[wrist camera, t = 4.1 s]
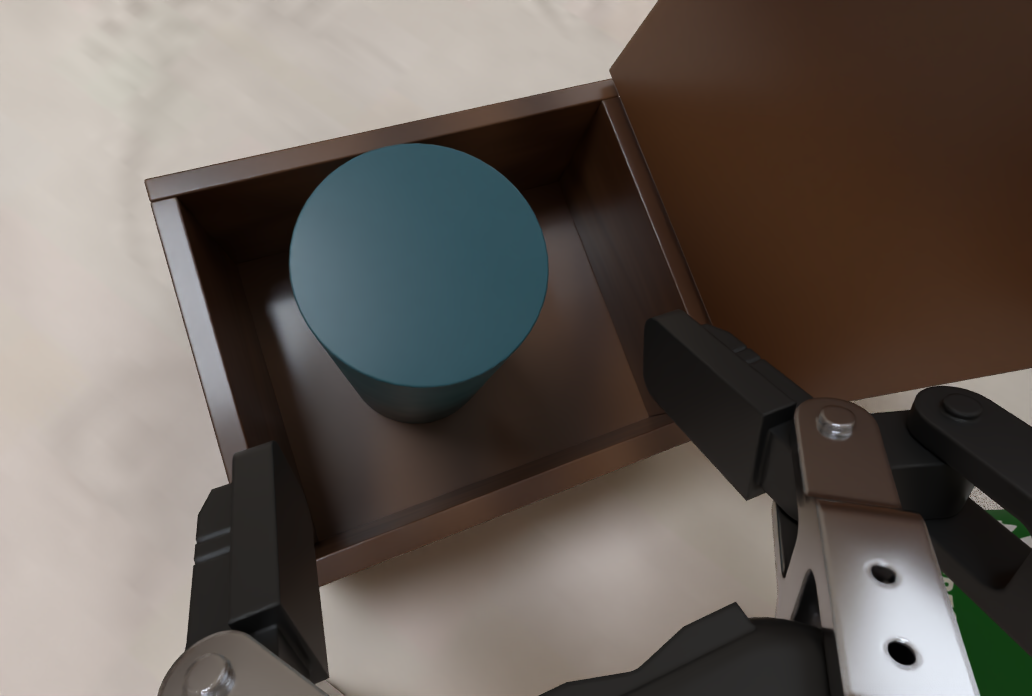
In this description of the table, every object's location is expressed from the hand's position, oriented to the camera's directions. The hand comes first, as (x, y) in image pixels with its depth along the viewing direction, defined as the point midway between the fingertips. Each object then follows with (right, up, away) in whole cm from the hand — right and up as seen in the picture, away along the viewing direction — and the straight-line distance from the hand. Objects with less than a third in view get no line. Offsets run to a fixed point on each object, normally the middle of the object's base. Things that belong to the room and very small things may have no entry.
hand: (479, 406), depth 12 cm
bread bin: (-2, +1, +14) cm, 14 cm away
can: (-4, +1, +13) cm, 13 cm away
